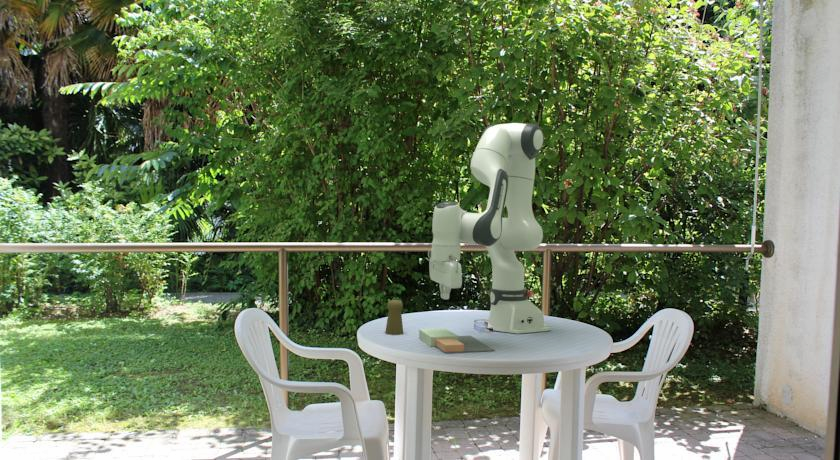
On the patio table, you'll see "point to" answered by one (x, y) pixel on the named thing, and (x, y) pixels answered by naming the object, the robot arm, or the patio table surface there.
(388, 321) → the cork
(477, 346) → the mat
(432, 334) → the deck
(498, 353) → the patio table surface
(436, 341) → the block
